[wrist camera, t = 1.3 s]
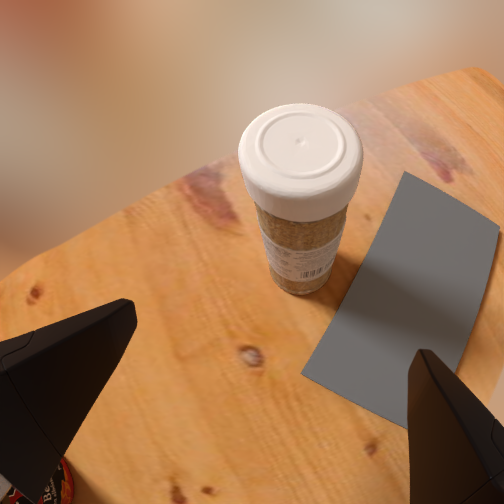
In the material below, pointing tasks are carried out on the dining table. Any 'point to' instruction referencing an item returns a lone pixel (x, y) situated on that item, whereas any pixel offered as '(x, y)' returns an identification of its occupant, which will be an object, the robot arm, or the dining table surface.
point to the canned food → (50, 489)
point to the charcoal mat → (407, 299)
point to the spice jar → (301, 188)
